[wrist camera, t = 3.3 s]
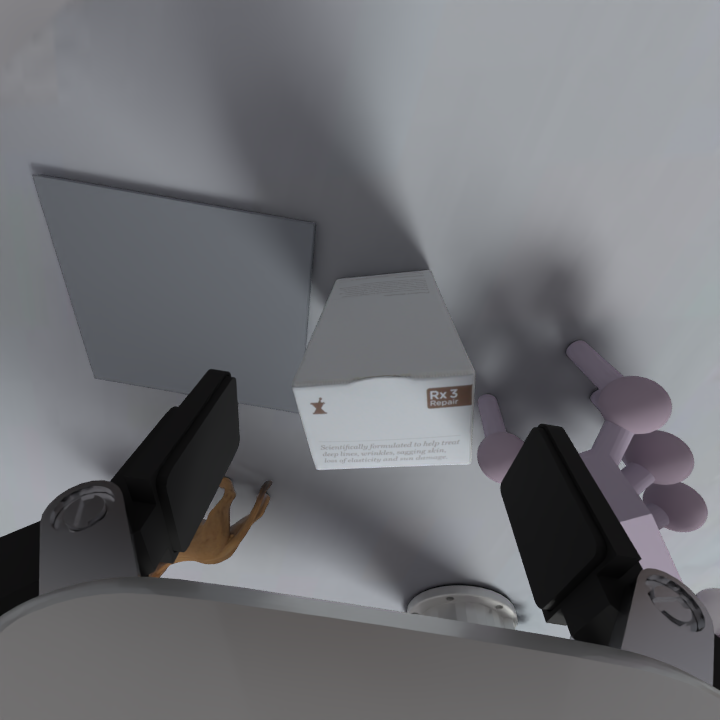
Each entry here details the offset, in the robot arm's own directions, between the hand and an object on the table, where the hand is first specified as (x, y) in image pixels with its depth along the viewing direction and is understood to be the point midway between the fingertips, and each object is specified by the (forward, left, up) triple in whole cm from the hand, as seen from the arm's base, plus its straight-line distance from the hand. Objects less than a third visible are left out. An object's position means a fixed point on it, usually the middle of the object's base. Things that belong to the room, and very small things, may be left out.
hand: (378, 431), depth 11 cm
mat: (+13, +4, -13) cm, 18 cm away
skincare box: (0, +1, -13) cm, 13 cm away
